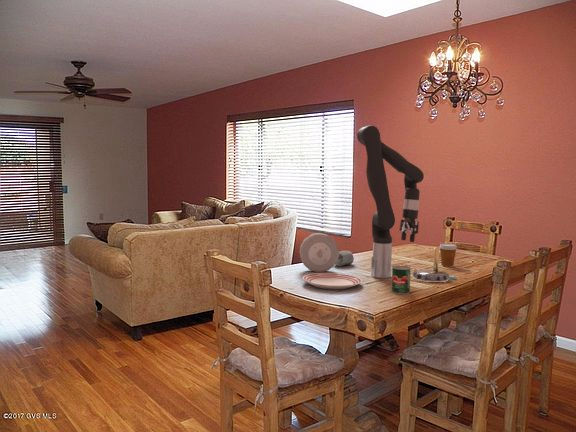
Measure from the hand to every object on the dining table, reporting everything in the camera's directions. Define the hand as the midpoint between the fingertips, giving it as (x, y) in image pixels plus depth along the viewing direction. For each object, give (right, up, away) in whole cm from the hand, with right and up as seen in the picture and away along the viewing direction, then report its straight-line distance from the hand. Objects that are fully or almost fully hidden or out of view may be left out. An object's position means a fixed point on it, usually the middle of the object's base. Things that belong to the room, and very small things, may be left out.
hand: (407, 241), depth 232 cm
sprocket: (+10, -19, -3) cm, 22 cm away
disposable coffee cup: (+30, -16, +29) cm, 45 cm away
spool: (-29, -15, +28) cm, 43 cm away
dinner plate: (-40, -20, -17) cm, 47 cm away
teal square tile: (+21, -19, -2) cm, 28 cm away
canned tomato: (-11, -21, -29) cm, 37 cm away
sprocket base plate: (+10, -19, -3) cm, 22 cm away
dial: (-44, -17, +10) cm, 48 cm away
